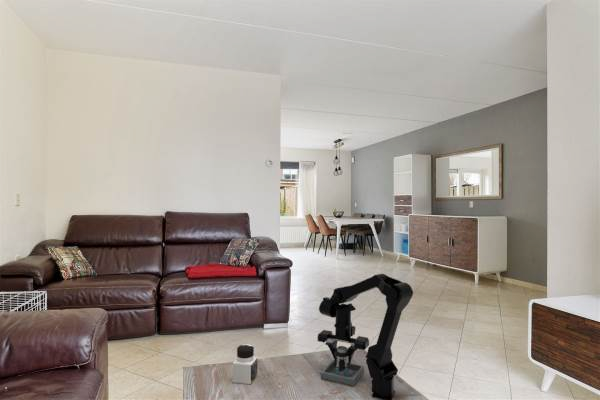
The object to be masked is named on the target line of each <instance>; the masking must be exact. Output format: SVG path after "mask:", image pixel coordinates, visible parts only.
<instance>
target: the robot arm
mask: <svg viewBox="0 0 600 400" xmlns="http://www.w3.org/2000/svg"><path fill="white" fill-rule="evenodd" d="M376 288H377V289H378V290H379V292H380V293H381V294H382V295H384V296H385V301H386V312H385V313H384V318H383V321H382V324H381V327H380V331H379V335H378V338H377V341H376V343H375V344H373V345H370V339H369V337H367V336H361V335H358V336H357V337H356V338H355V337H354V338H353V336H355V335H356V326H354V325H353V322H352V321H351V319H352V316H351V315H352V312H353V311H356V307H355V306H354V305H353V304H352V303H349V302H352V301H353V300H355V299H356V298H358V297H359V296H360V295H361V294H364V293H366V292H368V291H371V290H373V289H376ZM413 295H414V290H413V288H412V286H411V285H410V284H409V283H407V282H404V281H401V280H399V279H396V278H393V277H390V276H388V275H387V274H385V273H379V274H373V276H370V277H368V278H366V279H364V280H361V281H359V282H356V283H354V284H352V285H346V286H341V287H336V288H334V289H333V293H332V294H331V296H330V297H329V296H328V297H327V296H325V297H322V301H321V302H320V304H319V307H318V311H319V313H320V314H321V315H323V316H327V317H329V318H331V319H332V318H335V324H333V325H334V328H335V330H334V333H335V334H333V331H332V330H327V329H323V330H322V331H320V332H319V333H318V335H317V342H319V343H325V345H326V346H327V347H328V348H329V351H330V353H331V355H332V357H333V360H335V361H337V356H336V352H335V349H336V348H337V347H338V342H341V343H346V344H350V346H349V347H347V349H348V356H347V363H349V364H350V363H352V361H353V356H354V354H355V352H356V351H357V350H362V351H364V350H366V349H367V352H366V356H364V357H365V358H366V360H365V363H366V365H367V370H368V373H369V378H370V379H371V392H372V393H371V397H373V398H375V399H376V398H377V399H381V400H393V398H394V396H395V393H396V391H395V389H394V387H395V386H394V385H395V382H394V381H395V376H397V375H398V371H399V369H398V368H397V366H396V365H395V363H394V361H393V360H392V359H393V352H392V345H393V341H394V338H395V335H396V331H397V328H398V325H399V322H400V319H401V315H402V313H403V311H404V310H405V308H406V307H407V306H408V305H409V303H410V301H411V300H412V298H413Z"/></svg>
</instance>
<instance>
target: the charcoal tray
mask: <svg viewBox="0 0 600 400" xmlns="http://www.w3.org/2000/svg"><path fill="white" fill-rule="evenodd" d="M336 365H337V361H335V360H334V359H332V360H331V361H330V363H328V364H327V366H325V368H323V370H321V372H320V380H322V381H326V382H327V381H328V382H332V383H337V384H339V385H345V386H348V387H349V386H350V387H352V388H354V387H355V386H356V384H357V383H358V381H359V380H360V379H361V377H362V376H363V375H364V373H365V365H363V364H357V363H352V362H351V363H350V364H349V363H348V362H347V367H348V370H352V371H348V372H352V374H348V376H340V375H336V374H335V366H336Z"/></svg>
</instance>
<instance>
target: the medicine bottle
mask: <svg viewBox="0 0 600 400" xmlns="http://www.w3.org/2000/svg"><path fill="white" fill-rule="evenodd" d="M254 348H255V347H254V346H253V345H251V344H248V343H246V344H245V343H244V344H240V345H239V346H237V348H236V358H235V360H234V361H233V362H232V383H237V384H244V385H252V384H253V382H254V381H255V379H256V378H257V377H258V356H255V355H254V354H255V353H254V352H255V349H254Z"/></svg>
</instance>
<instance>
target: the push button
mask: <svg viewBox="0 0 600 400" xmlns="http://www.w3.org/2000/svg"><path fill="white" fill-rule="evenodd" d="M335 352H336V356H337V365H336V366H335V374H336V375H340V376H348V374H352V372H348V371H352V370H348V367H347V363H348V347H346V346H345V345H339V346H337V348H336V349H335Z"/></svg>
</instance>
